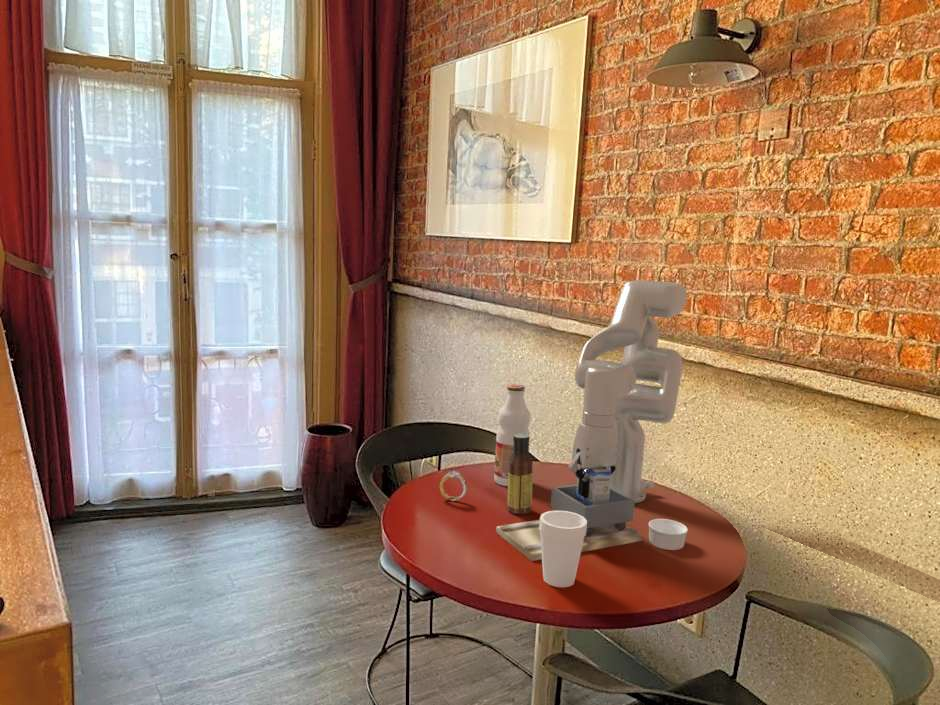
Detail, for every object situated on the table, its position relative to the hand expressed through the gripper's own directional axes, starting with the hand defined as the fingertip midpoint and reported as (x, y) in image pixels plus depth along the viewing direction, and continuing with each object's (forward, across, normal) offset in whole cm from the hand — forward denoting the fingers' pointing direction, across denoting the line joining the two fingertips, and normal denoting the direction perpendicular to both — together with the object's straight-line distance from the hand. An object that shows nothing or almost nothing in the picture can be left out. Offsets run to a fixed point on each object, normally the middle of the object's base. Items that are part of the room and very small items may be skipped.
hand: (592, 493), depth 168 cm
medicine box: (+2, 0, 0) cm, 2 cm away
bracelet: (+10, +22, -30) cm, 39 cm away
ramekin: (+10, -14, +11) cm, 20 cm away
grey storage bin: (+7, 0, 0) cm, 7 cm away
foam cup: (+10, +20, +17) cm, 29 cm away
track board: (+10, +6, 0) cm, 11 cm away
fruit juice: (+10, 0, -38) cm, 39 cm away
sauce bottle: (+10, +9, -18) cm, 22 cm away
